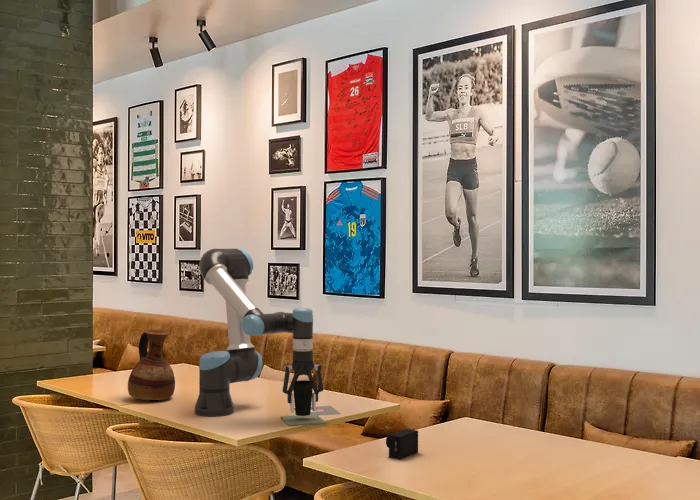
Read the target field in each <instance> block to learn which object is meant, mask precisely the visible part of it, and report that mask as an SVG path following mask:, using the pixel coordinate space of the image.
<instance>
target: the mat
mask: <svg viewBox="0 0 700 500" xmlns="http://www.w3.org/2000/svg"><path fill="white" fill-rule="evenodd" d="M280 419H281V420H282V421H283V422H284V423H285V424H286V426H288V427H296V426H297V427H298V426H308V425H309V426H310V425H312V426H313V425H326V424H327V422H326V421H325V419H323V418H322V417H321V416H320V415H317V414H313V415H307V416H298V415H285V416H283V415H282V416H280Z"/></svg>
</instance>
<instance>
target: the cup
mask: <svg viewBox="0 0 700 500" xmlns="http://www.w3.org/2000/svg"><path fill="white" fill-rule="evenodd" d="M313 392H314V390H313V382H312V383H310V380H305V379H304V380H297V382H296V383H294V389H293V392H292V393H293V395H294V408H295V410H294V412H295V413H294V414H295V416H297V415H298V416H307V415H310V414H311V407H312V393H313Z"/></svg>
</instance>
